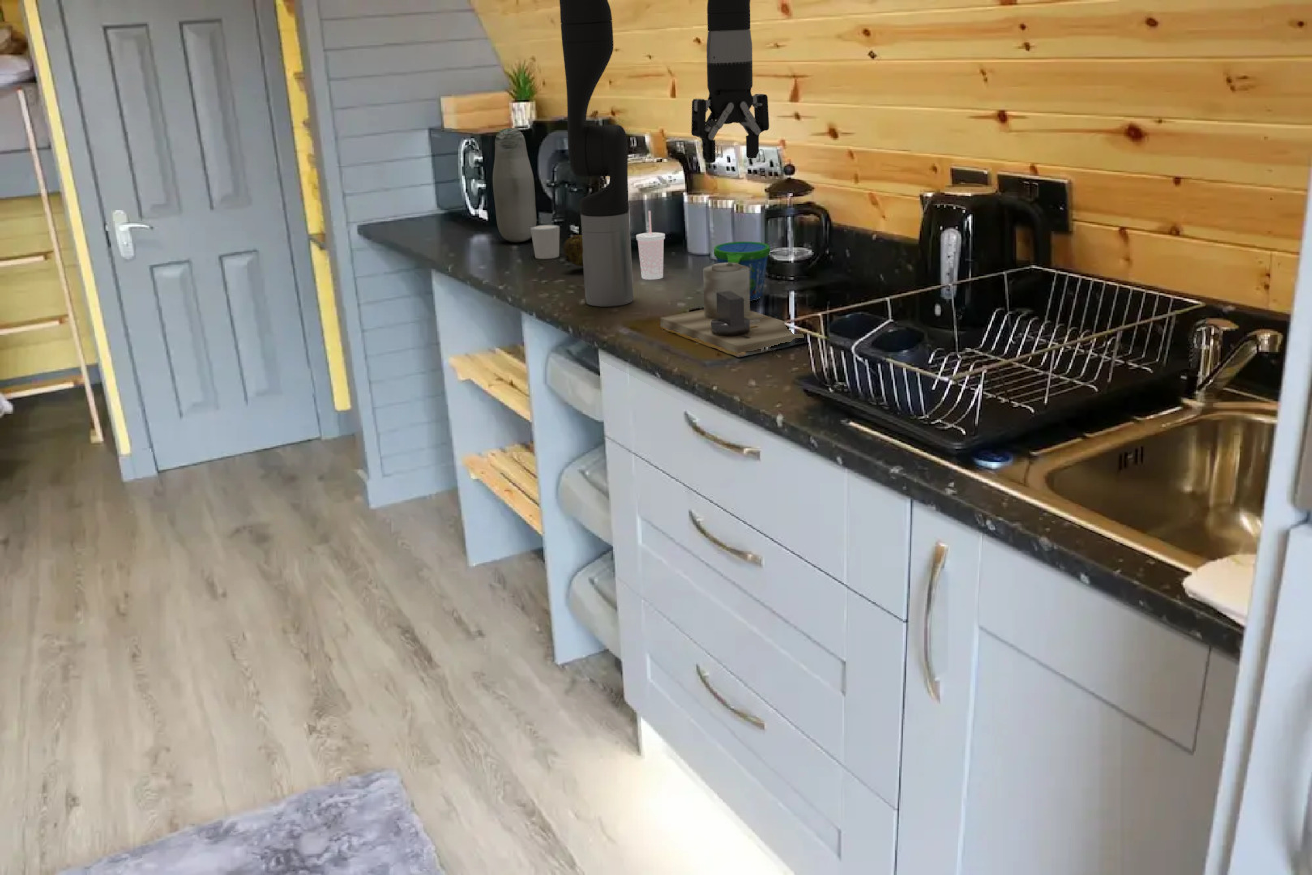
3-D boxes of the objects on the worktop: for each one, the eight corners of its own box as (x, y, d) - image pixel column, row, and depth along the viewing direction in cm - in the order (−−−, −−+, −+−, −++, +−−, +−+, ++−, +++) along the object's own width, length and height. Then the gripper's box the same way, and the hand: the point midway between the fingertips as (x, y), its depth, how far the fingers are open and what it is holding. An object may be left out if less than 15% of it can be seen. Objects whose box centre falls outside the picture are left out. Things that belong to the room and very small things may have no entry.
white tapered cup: (560, 258, 260) (557, 228, 258) (530, 259, 260) (528, 230, 258) (562, 253, 267) (560, 223, 264) (534, 254, 267) (532, 225, 264)
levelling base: (660, 328, 196) (657, 266, 192) (730, 315, 203) (729, 254, 199) (738, 358, 177) (737, 289, 173) (813, 342, 184) (813, 275, 180)
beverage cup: (663, 280, 233) (661, 213, 229) (635, 280, 235) (631, 213, 230) (669, 274, 239) (666, 208, 234) (641, 274, 240) (638, 208, 235)
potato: (626, 269, 246) (624, 233, 243) (570, 276, 241) (568, 239, 239) (613, 263, 253) (611, 227, 250) (559, 269, 249) (556, 233, 246)
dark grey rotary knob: (719, 337, 180) (718, 301, 178) (705, 328, 186) (704, 293, 184) (767, 331, 183) (766, 295, 181) (752, 322, 188) (751, 288, 186)
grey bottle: (493, 241, 286) (483, 128, 276) (531, 236, 290) (522, 125, 280) (505, 247, 277) (494, 131, 268) (543, 242, 281) (535, 128, 272)
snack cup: (754, 310, 206) (754, 255, 202) (702, 306, 210) (700, 253, 207) (781, 291, 219) (781, 240, 216) (731, 288, 223) (730, 238, 220)
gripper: (706, 62, 177) (708, 166, 183) (777, 57, 184) (778, 158, 190) (680, 62, 183) (684, 162, 189) (751, 57, 190) (752, 155, 196)
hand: (731, 160), depth 189 cm, fingers open, 8 cm apart
